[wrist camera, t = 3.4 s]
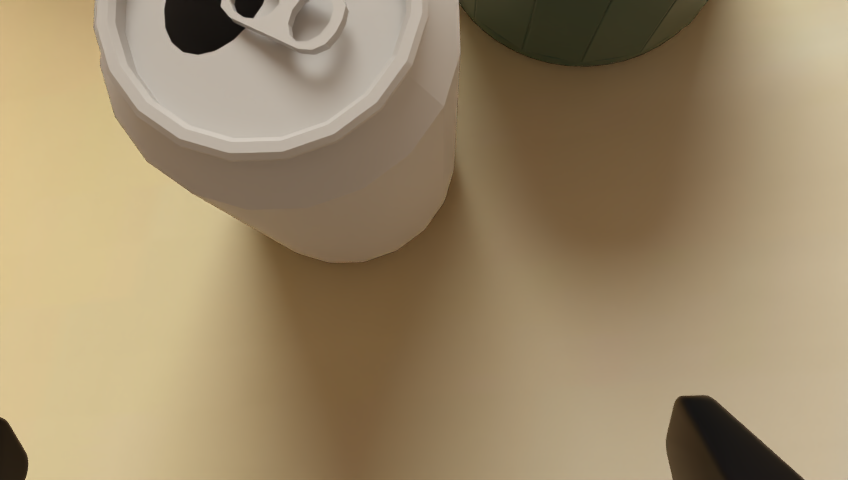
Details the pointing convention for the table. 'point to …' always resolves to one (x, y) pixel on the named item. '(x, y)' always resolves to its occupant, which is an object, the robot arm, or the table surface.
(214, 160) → the can
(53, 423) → the table surface
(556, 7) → the pot
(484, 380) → the table surface
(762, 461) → the robot arm
